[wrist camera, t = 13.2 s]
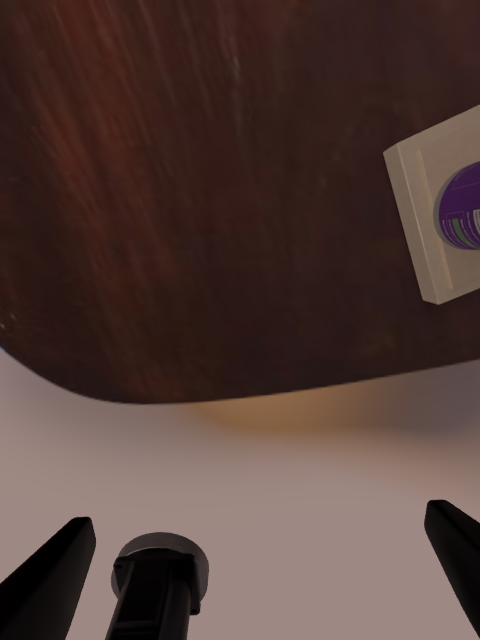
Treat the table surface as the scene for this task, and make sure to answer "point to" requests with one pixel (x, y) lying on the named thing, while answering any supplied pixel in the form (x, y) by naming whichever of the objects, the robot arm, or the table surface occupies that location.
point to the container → (459, 209)
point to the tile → (419, 197)
